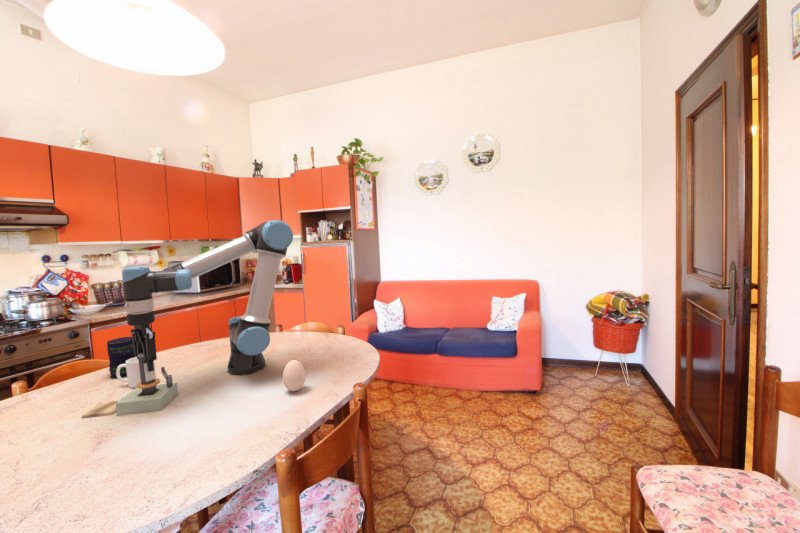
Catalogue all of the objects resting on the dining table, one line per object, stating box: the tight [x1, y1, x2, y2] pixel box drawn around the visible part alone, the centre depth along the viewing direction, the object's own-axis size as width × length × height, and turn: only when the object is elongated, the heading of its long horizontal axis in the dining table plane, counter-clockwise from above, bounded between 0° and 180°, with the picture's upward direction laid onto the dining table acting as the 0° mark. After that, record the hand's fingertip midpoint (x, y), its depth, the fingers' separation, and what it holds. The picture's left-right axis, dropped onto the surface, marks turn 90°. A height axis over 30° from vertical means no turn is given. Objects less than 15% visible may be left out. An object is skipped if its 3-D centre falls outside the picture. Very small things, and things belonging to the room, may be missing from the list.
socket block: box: [116, 382, 179, 416], centre depth 120 cm, size 13×13×4 cm
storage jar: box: [106, 336, 135, 380], centre depth 148 cm, size 10×10×15 cm
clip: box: [160, 366, 174, 387], centre depth 127 cm, size 13×2×4 cm, turn 43°
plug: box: [137, 353, 161, 396], centre depth 119 cm, size 6×6×16 cm
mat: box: [81, 400, 119, 419], centre depth 116 cm, size 9×9×1 cm
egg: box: [282, 359, 307, 392], centre depth 126 cm, size 8×8×11 cm
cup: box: [116, 357, 141, 389], centre depth 136 cm, size 8×12×10 cm
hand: (147, 378), depth 119 cm, fingers closed on plug, 4 cm apart
